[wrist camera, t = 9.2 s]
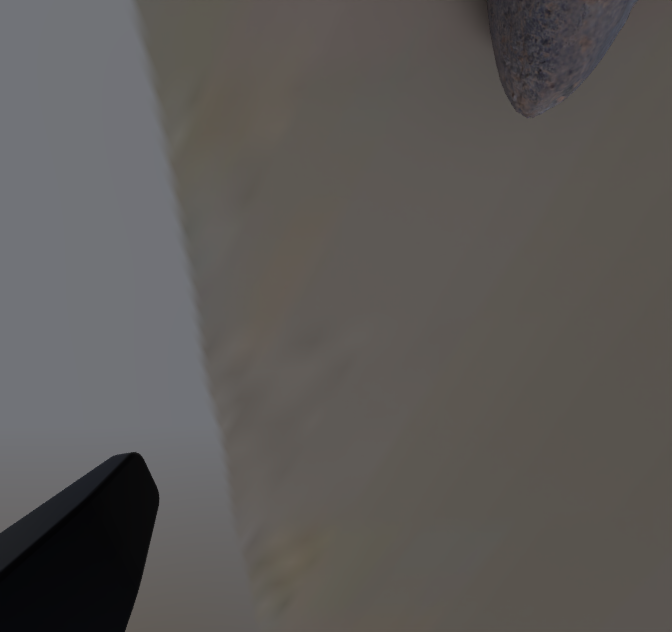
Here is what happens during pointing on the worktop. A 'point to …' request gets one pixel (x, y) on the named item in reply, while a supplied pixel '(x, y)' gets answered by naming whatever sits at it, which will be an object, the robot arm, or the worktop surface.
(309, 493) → the worktop surface
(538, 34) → the perforated stone tool
